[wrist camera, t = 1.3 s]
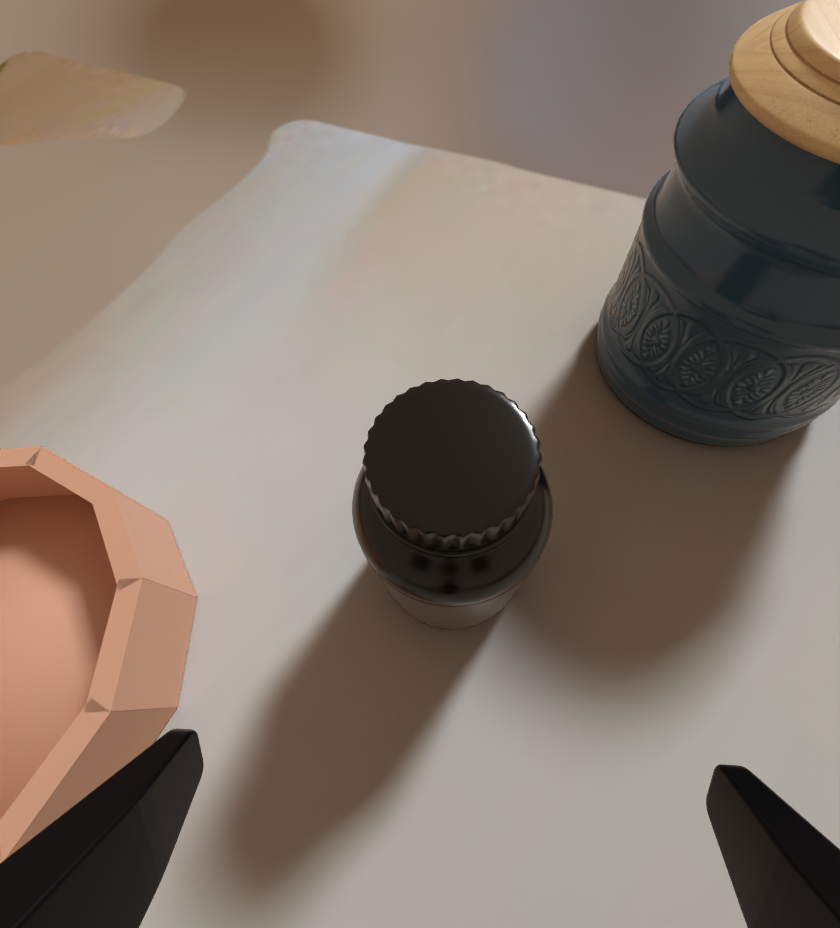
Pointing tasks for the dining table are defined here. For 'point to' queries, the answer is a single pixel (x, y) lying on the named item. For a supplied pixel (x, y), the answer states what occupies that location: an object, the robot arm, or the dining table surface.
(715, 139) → the canister
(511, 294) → the dining table surface
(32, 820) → the terracotta bowl
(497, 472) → the supplement bottle
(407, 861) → the dining table surface
